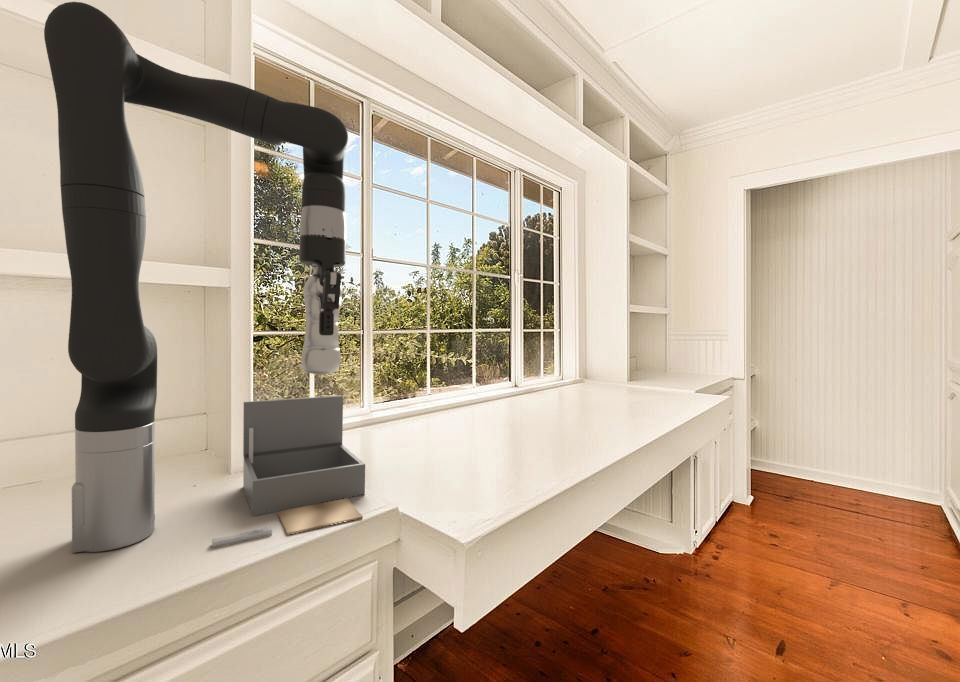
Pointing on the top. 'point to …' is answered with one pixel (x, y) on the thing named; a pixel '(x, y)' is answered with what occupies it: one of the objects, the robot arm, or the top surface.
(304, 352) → the plastic bottle
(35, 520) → the top surface
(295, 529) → the cork pad
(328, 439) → the case
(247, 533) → the rod
